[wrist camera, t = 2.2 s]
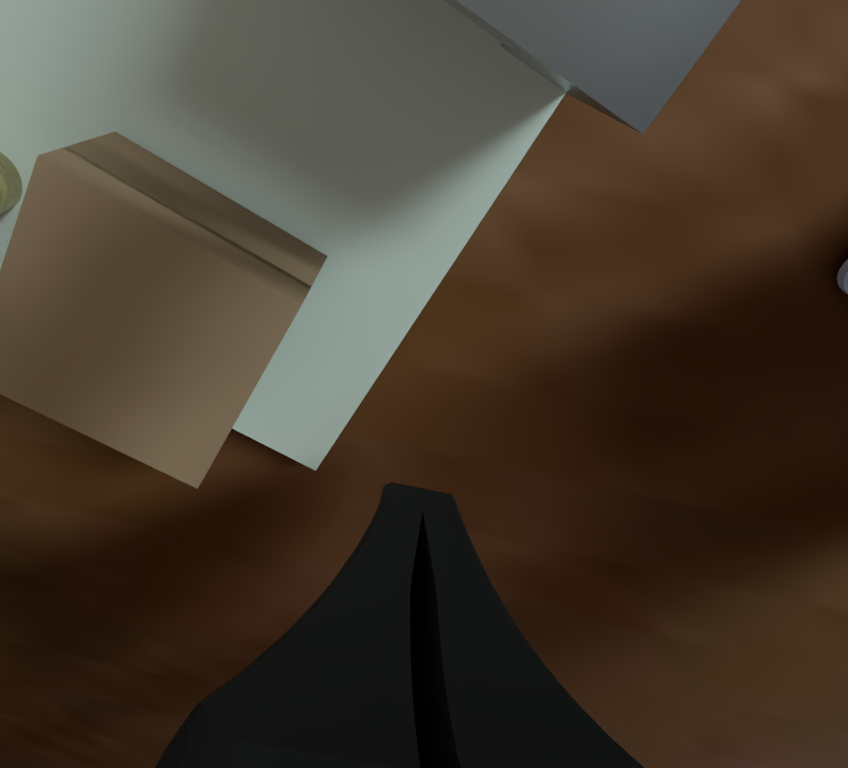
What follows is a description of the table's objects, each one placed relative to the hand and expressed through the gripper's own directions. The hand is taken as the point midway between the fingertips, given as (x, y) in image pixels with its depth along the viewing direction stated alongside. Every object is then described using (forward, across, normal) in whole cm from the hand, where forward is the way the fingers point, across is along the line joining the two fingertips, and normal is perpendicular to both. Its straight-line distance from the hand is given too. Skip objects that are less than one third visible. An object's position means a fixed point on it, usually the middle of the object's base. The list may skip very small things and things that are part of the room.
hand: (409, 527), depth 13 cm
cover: (+4, +6, -2) cm, 8 cm away
